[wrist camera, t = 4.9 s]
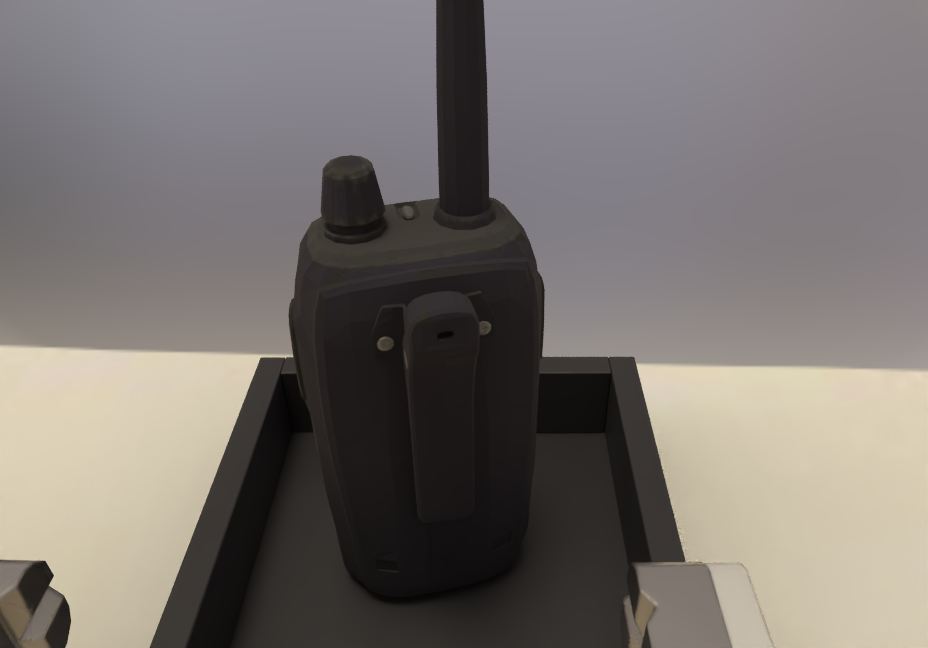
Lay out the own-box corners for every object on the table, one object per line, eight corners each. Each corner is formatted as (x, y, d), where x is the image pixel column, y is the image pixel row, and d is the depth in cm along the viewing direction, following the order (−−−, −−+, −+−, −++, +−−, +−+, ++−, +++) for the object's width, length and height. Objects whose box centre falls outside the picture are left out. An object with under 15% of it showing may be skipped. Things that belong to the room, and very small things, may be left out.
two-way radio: (515, 483, 23) (531, -83, 14) (566, 613, 19) (629, -35, 10) (328, 521, 22) (217, -64, 13) (345, 664, 18) (210, -3, 9)
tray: (624, 425, 25) (634, 356, 24) (706, 813, 16) (732, 745, 14) (275, 424, 26) (260, 356, 24) (153, 804, 16) (114, 737, 15)
